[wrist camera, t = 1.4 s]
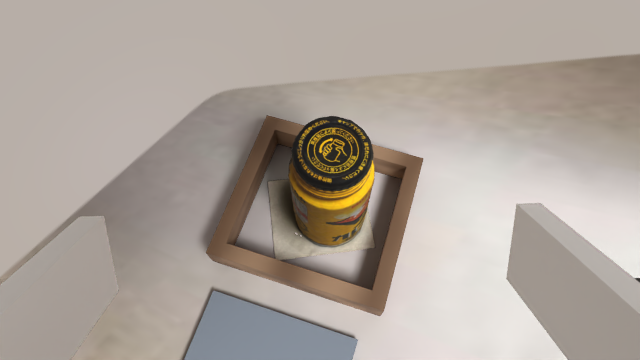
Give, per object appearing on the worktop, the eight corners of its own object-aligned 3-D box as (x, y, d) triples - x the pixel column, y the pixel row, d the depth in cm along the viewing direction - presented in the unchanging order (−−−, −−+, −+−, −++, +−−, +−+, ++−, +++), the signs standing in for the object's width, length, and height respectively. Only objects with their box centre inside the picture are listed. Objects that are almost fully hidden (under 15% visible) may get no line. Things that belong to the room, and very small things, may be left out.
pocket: (418, 171, 41) (423, 158, 39) (380, 316, 36) (383, 311, 33) (270, 129, 43) (267, 115, 41) (213, 260, 38) (205, 252, 35)
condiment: (375, 248, 38) (395, 191, 27) (275, 261, 38) (255, 208, 27) (360, 171, 41) (373, 92, 30) (268, 182, 41) (247, 107, 30)
